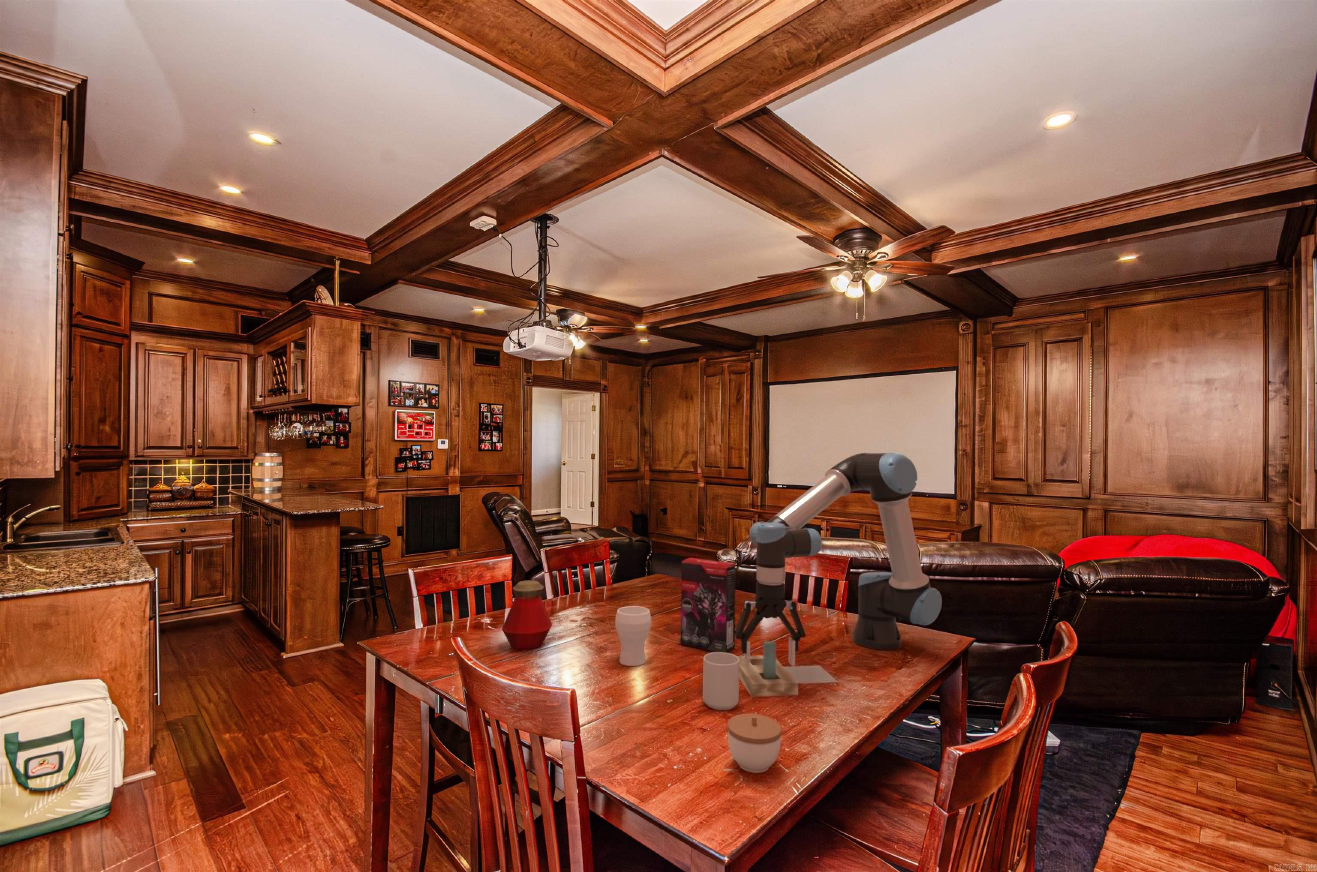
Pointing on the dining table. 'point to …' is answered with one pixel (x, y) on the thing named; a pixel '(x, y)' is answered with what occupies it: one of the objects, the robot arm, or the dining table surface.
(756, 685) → the hole block
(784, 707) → the dining table surface
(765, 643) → the peg
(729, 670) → the mug
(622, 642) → the cup
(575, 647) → the dining table surface
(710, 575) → the graphics card box
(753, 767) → the lidded jar
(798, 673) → the mat
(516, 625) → the bottle
